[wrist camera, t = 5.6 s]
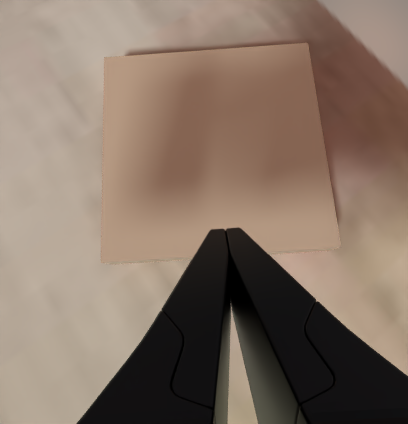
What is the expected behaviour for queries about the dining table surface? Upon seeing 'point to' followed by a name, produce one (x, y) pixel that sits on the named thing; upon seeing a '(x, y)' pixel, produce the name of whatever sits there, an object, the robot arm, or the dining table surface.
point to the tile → (213, 153)
